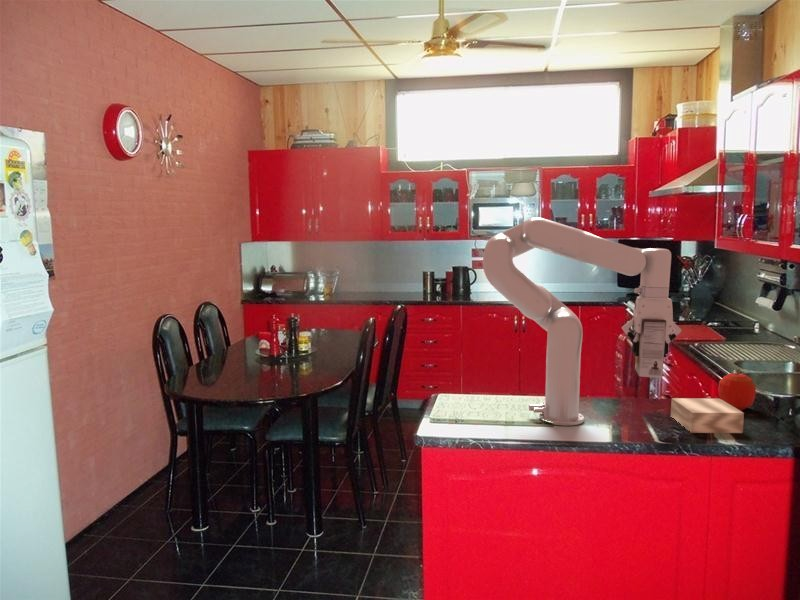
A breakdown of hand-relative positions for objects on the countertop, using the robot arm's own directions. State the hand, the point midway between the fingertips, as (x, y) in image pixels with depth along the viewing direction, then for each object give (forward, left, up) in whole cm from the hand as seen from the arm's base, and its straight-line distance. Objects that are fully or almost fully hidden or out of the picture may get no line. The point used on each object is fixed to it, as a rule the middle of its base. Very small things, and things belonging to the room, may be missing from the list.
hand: (649, 355), depth 183 cm
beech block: (+16, +1, -20) cm, 26 cm away
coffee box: (0, 0, -5) cm, 5 cm away
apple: (+31, +19, -20) cm, 42 cm away
